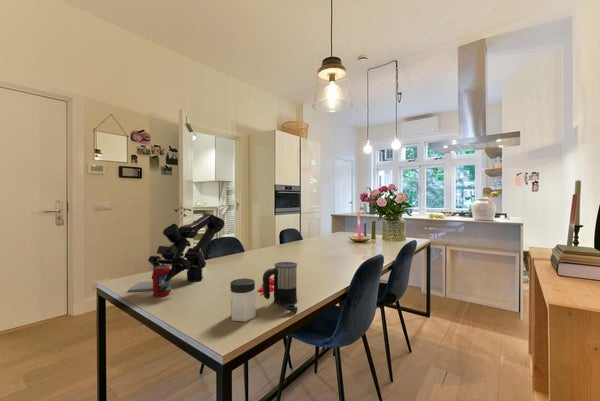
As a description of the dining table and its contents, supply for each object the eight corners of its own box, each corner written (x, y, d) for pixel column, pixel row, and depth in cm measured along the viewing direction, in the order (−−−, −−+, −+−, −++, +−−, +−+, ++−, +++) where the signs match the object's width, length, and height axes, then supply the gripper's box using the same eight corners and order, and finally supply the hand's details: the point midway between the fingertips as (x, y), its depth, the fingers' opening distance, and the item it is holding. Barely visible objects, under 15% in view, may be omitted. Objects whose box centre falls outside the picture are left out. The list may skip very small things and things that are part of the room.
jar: (245, 309, 103) (245, 276, 103) (260, 315, 98) (260, 280, 98) (224, 317, 97) (224, 282, 96) (239, 324, 91) (239, 287, 91)
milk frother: (287, 295, 118) (286, 260, 117) (314, 306, 106) (314, 266, 106) (259, 305, 108) (258, 266, 107) (286, 317, 96) (286, 274, 96)
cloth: (272, 299, 116) (272, 293, 116) (242, 295, 120) (242, 289, 120) (294, 281, 140) (294, 276, 140) (269, 278, 145) (269, 274, 145)
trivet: (162, 282, 136) (162, 280, 136) (155, 290, 125) (155, 288, 125) (138, 284, 134) (137, 282, 134) (128, 292, 123) (128, 289, 123)
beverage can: (163, 297, 116) (163, 268, 115) (149, 296, 117) (149, 267, 117) (174, 292, 122) (173, 264, 122) (160, 291, 124) (160, 264, 123)
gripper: (150, 237, 126) (129, 268, 115) (186, 239, 120) (167, 271, 110) (164, 251, 133) (145, 281, 123) (198, 253, 128) (181, 285, 118)
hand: (159, 280), depth 118 cm, fingers closed on beverage can, 7 cm apart
